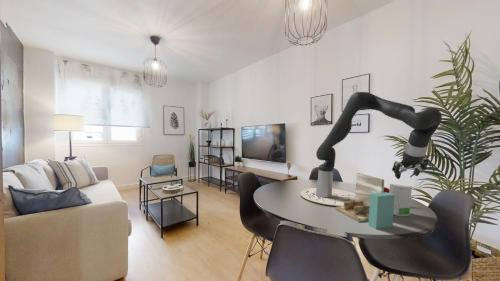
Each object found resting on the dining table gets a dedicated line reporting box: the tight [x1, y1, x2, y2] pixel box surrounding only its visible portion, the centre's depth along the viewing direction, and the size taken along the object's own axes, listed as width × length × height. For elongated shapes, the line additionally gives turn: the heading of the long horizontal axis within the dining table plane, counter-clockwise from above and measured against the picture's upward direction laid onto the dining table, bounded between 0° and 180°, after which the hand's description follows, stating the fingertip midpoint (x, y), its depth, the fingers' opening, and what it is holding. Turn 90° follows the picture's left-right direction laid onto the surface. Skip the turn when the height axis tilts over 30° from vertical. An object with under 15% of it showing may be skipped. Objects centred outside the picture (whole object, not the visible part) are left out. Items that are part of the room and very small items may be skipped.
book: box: [368, 192, 395, 230], centre depth 95 cm, size 10×4×15 cm, turn 107°
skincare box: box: [388, 183, 413, 217], centre depth 111 cm, size 8×7×16 cm
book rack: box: [334, 172, 385, 223], centre depth 109 cm, size 15×16×20 cm
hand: (406, 176), depth 101 cm, fingers open, 8 cm apart
